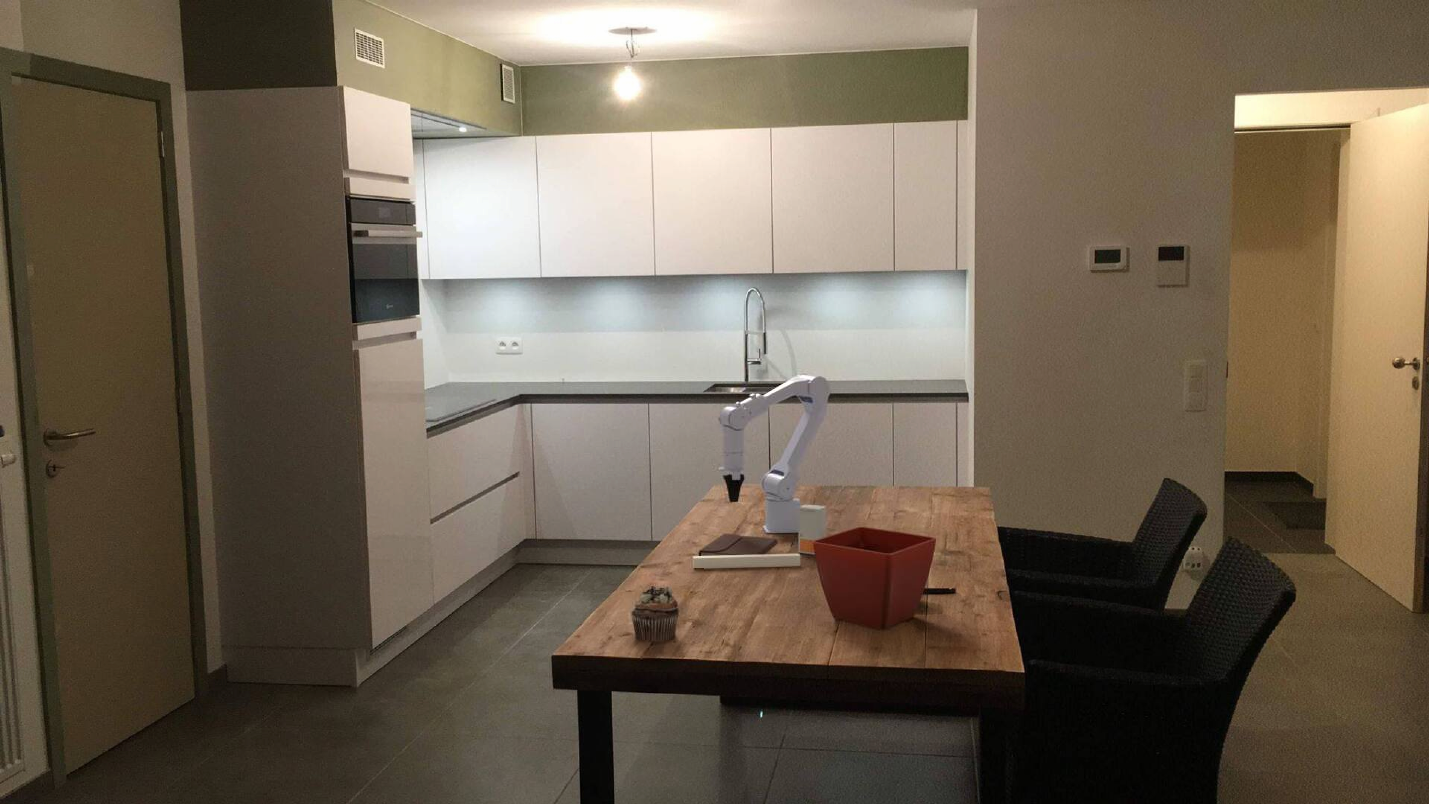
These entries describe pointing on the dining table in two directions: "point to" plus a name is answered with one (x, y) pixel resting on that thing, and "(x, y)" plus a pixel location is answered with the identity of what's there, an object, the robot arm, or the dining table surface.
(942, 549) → the dining table surface
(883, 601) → the plant pot
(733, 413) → the robot arm
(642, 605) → the cupcake
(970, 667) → the dining table surface
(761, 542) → the notebook
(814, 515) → the skincare box
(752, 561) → the bar
